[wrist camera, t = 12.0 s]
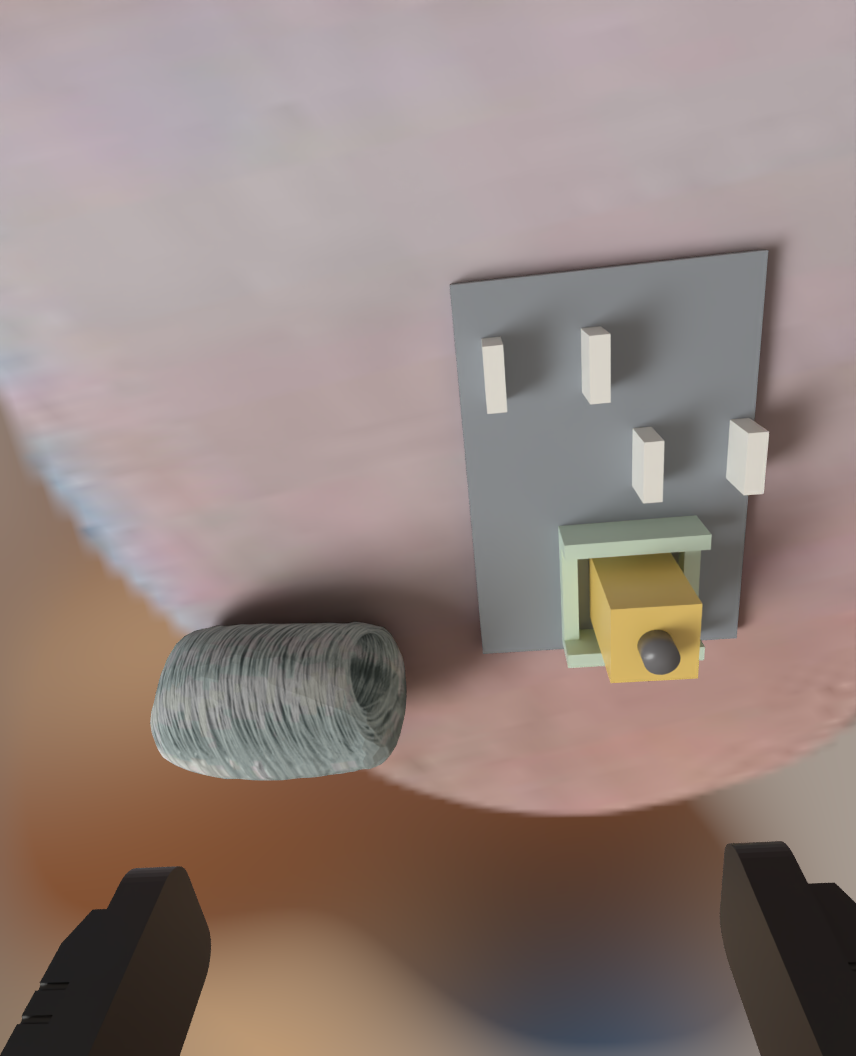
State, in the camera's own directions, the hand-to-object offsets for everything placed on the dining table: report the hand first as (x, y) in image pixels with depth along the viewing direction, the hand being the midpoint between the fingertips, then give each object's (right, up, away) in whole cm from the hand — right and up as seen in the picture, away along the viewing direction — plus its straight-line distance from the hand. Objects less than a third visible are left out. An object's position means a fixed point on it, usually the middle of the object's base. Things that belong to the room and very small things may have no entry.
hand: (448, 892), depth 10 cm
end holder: (+10, +2, +27) cm, 29 cm away
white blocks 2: (+13, +9, +24) cm, 28 cm away
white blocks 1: (+5, +13, +22) cm, 26 cm away
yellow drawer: (+10, +2, +27) cm, 29 cm away
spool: (-8, -2, +31) cm, 32 cm away
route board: (+9, +8, +25) cm, 28 cm away
